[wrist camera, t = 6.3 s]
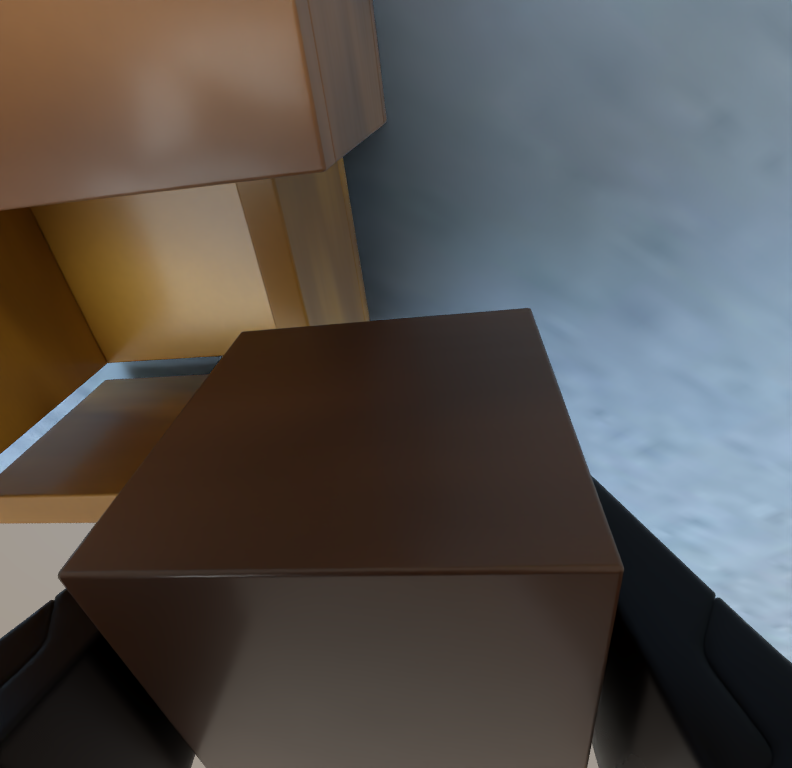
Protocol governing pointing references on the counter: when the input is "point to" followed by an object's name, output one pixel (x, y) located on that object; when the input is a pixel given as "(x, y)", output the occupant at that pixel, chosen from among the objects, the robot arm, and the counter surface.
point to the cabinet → (179, 93)
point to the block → (365, 554)
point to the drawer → (150, 316)
